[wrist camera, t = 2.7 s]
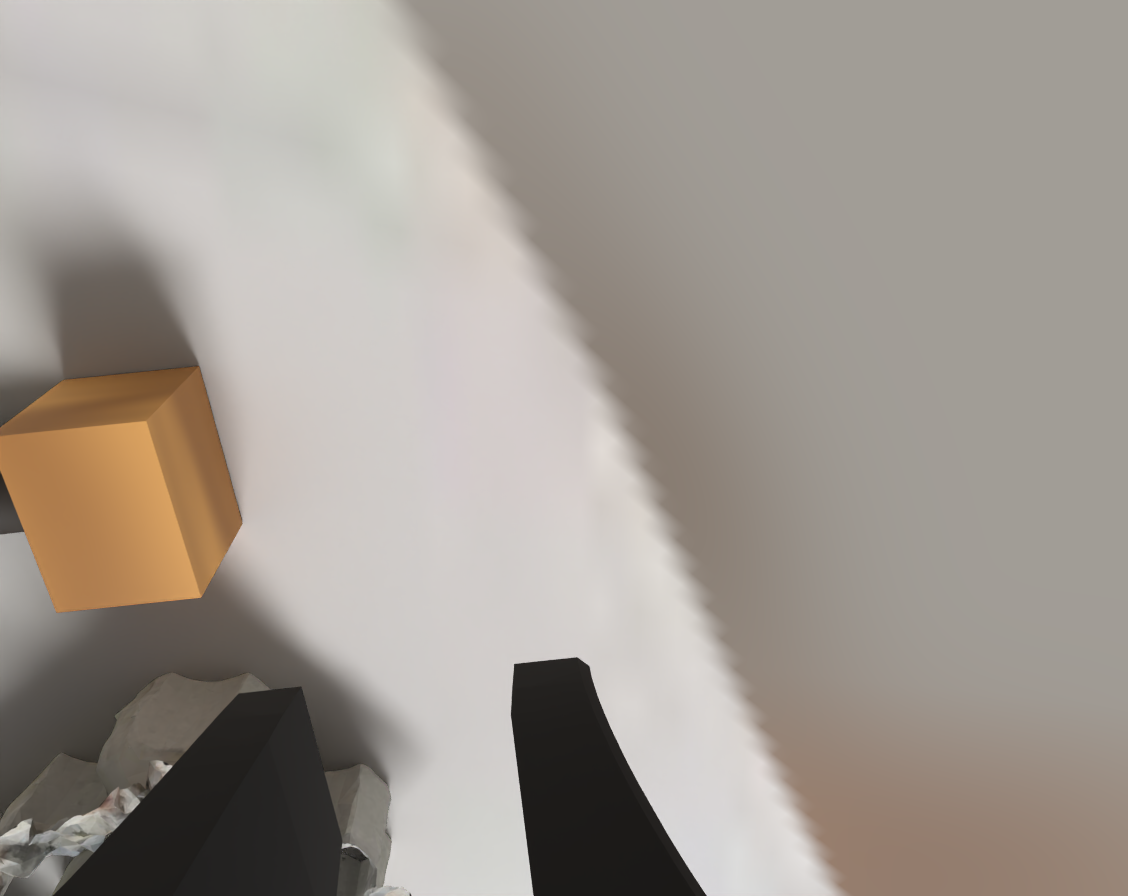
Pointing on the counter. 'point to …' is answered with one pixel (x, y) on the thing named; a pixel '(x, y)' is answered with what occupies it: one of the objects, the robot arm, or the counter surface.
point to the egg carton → (140, 760)
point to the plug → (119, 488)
